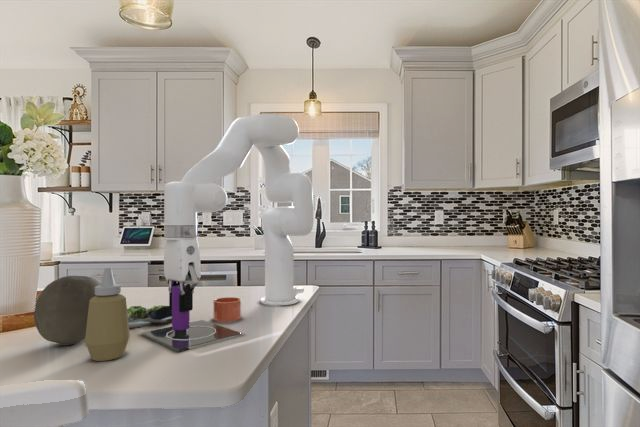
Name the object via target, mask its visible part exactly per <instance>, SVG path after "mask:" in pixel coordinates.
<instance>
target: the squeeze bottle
mask: <svg viewBox="0 0 640 427" xmlns="http://www.w3.org/2000/svg"><path fill="white" fill-rule="evenodd" d="M100 283H101V285H99V286H96V287H95V295H97V296H95V297H93V298H92V299H91V300H89V309H88V318H87V327H86V336H85V339H84V343H85V346H86V349H87V351H88V353H89V356H90V358H91V360H92V361H96V362H103V361H111V360H116V359H119V358H121V357H123V356H124V354H125V352H126V348H127V346H128V343H129V340H130V337H131V334H130V328H129V323H128V314H127V309H128V305H127V297H126V296H125V295H124V294H122V285H121V284H120V283H119V284H118V283H116V282H115V277H114V273H113V269H112V267H110V266H108V267H104V269H103V274H102V277H101V281H100Z"/></svg>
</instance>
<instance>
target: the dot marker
mask: <svg viewBox="0 0 640 427" xmlns="http://www.w3.org/2000/svg"><path fill="white" fill-rule="evenodd" d="M184 285H185V286H186V285H187V284H184ZM179 295H181V291H180V285H178V286H173V287H172V323H171V327H172V329H173V330H175V334H183V333H186V332H187V329H188V328H189V327H190V323H191V322H190V321H191V320H190V319H191V318H190V315H191V314H190V312H191V311H185V312H179Z"/></svg>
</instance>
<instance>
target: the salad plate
mask: <svg viewBox="0 0 640 427" xmlns="http://www.w3.org/2000/svg"><path fill="white" fill-rule="evenodd" d="M127 314H128V323H129V329H135V328H139V329H140V327H151V326H155V327H156V326H162V325H163V326H164V325H168V324H172V309H170V308H169V305H166V304H164V305H163V304H162V305H161V304H159V305H154V306H152V307H150V308H146V307H144V306H142V305H131V306H129V308H127Z"/></svg>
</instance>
